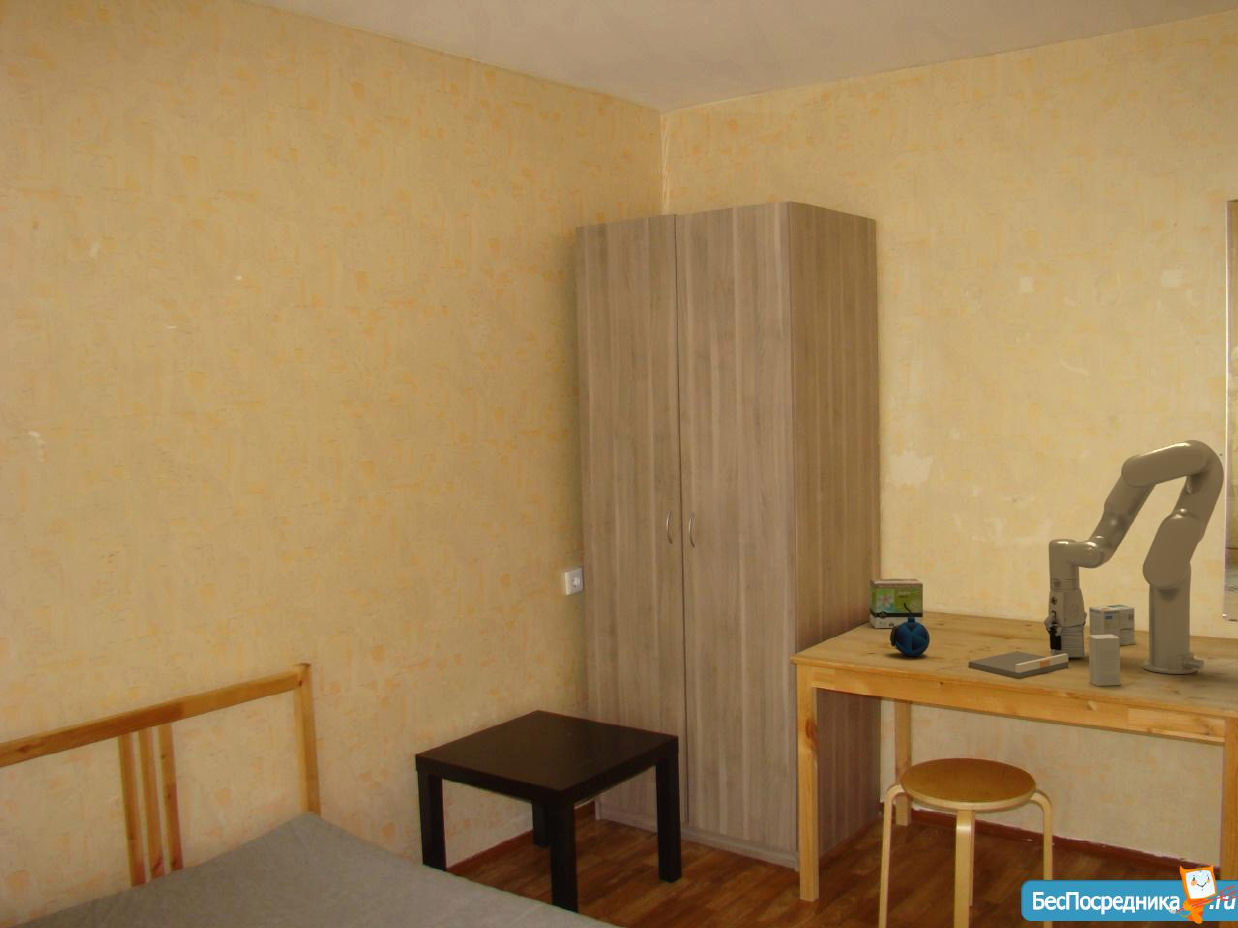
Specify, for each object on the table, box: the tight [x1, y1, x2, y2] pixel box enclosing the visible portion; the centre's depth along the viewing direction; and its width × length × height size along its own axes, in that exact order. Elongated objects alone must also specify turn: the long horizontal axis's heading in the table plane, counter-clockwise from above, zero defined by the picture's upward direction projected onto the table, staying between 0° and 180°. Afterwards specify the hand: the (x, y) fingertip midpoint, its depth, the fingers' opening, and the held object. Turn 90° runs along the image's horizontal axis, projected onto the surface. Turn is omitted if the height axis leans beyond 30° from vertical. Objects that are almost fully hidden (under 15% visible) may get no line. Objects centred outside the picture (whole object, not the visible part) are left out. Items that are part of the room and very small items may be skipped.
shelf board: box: [968, 651, 1069, 679], centre depth 288 cm, size 17×20×4 cm
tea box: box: [869, 578, 924, 630], centre depth 347 cm, size 15×10×15 cm, turn 88°
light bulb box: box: [1088, 603, 1136, 646], centre depth 313 cm, size 11×7×11 cm, turn 105°
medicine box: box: [1050, 625, 1086, 658], centre depth 296 cm, size 8×4×9 cm, turn 83°
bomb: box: [889, 603, 931, 657], centre depth 305 cm, size 10×11×15 cm
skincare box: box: [1088, 634, 1121, 687], centre depth 269 cm, size 6×4×12 cm
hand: (1066, 646), depth 297 cm, fingers closed on medicine box, 9 cm apart
